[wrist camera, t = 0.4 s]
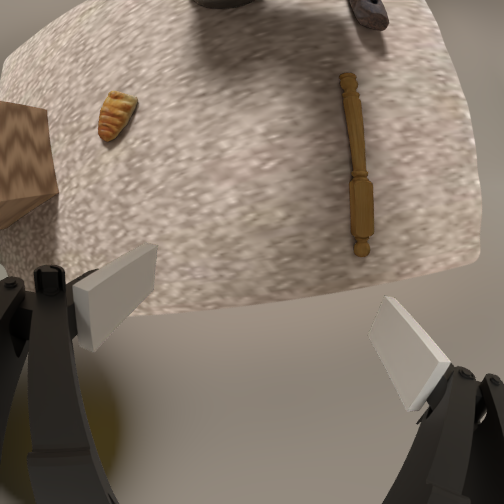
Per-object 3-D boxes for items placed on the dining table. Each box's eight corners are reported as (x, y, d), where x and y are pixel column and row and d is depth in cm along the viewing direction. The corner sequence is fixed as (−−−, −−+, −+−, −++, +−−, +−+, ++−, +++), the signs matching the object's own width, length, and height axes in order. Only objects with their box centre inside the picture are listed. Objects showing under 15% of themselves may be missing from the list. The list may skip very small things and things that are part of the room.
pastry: (122, 146, 41) (110, 144, 37) (95, 137, 41) (84, 135, 37) (142, 97, 39) (132, 91, 35) (114, 91, 39) (104, 86, 35)
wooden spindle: (358, 72, 33) (373, 258, 40) (353, 79, 36) (367, 253, 43) (340, 71, 33) (355, 259, 40) (336, 78, 36) (350, 254, 43)
